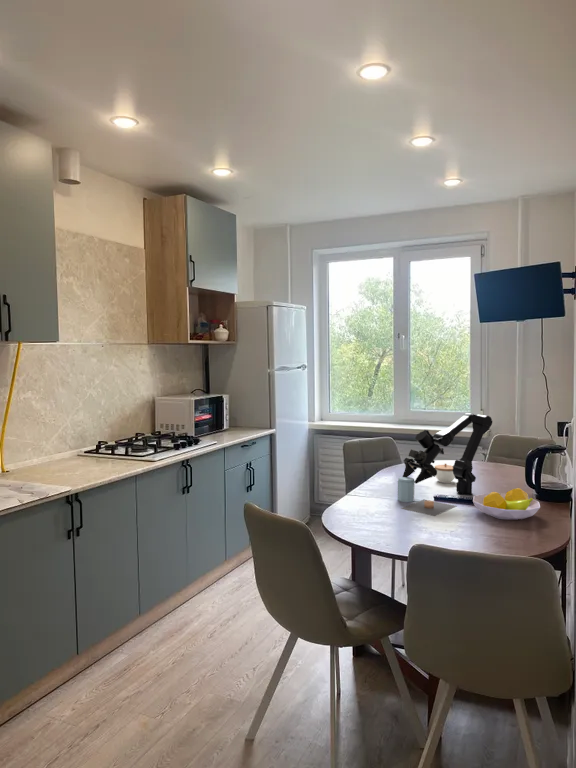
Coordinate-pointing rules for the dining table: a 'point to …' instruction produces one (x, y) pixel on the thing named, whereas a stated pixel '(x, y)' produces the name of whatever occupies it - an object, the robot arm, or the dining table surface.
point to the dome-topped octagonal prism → (406, 489)
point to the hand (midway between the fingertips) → (408, 480)
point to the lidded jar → (444, 473)
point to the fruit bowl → (507, 504)
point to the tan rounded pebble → (429, 504)
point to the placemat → (434, 511)
